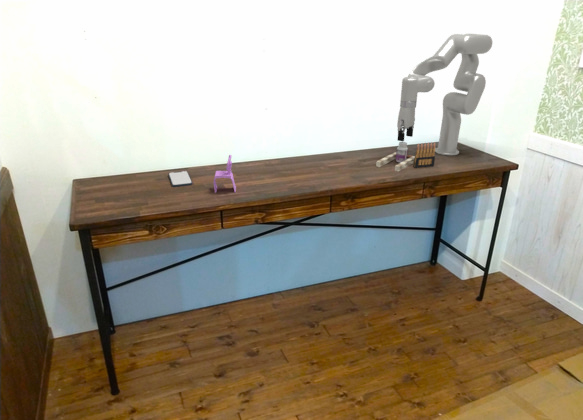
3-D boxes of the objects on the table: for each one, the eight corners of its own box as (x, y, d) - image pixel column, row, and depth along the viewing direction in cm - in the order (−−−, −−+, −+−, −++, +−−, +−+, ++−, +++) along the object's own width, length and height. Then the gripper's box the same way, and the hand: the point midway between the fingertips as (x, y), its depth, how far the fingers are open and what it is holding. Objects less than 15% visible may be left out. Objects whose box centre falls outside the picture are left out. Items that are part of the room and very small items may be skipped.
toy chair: (215, 186, 194) (213, 152, 188) (236, 186, 195) (234, 152, 189) (213, 193, 187) (211, 158, 181) (235, 193, 187) (234, 158, 181)
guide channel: (394, 156, 237) (394, 152, 236) (416, 161, 230) (416, 156, 229) (376, 166, 222) (376, 161, 221) (398, 171, 215) (399, 166, 214)
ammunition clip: (431, 165, 225) (435, 141, 220) (434, 166, 224) (437, 142, 219) (412, 166, 222) (416, 143, 217) (414, 168, 221) (418, 144, 216)
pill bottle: (399, 159, 233) (401, 140, 229) (408, 161, 230) (410, 143, 226) (393, 161, 230) (395, 142, 226) (402, 163, 226) (404, 144, 222)
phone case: (193, 186, 196) (187, 173, 209) (193, 183, 195) (187, 170, 209) (172, 188, 193) (168, 175, 207) (172, 185, 192) (167, 172, 206)
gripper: (408, 99, 226) (405, 133, 234) (392, 106, 214) (390, 141, 221) (423, 101, 222) (419, 135, 230) (407, 108, 210) (404, 144, 217)
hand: (405, 138), depth 225 cm, fingers open, 9 cm apart
